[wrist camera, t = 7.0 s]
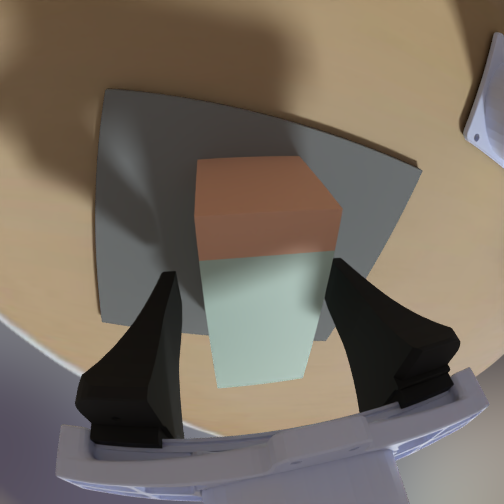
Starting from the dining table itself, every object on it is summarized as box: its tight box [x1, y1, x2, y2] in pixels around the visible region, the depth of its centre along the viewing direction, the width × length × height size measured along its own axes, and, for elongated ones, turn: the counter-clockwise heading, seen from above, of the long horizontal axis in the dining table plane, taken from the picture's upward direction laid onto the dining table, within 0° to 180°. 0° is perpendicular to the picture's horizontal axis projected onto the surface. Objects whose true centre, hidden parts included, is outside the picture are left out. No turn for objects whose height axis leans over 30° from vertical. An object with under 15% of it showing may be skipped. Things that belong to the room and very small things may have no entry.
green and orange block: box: [194, 156, 343, 388], centre depth 14 cm, size 10×4×5 cm, turn 179°
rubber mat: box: [95, 89, 422, 341], centre depth 16 cm, size 16×14×1 cm
